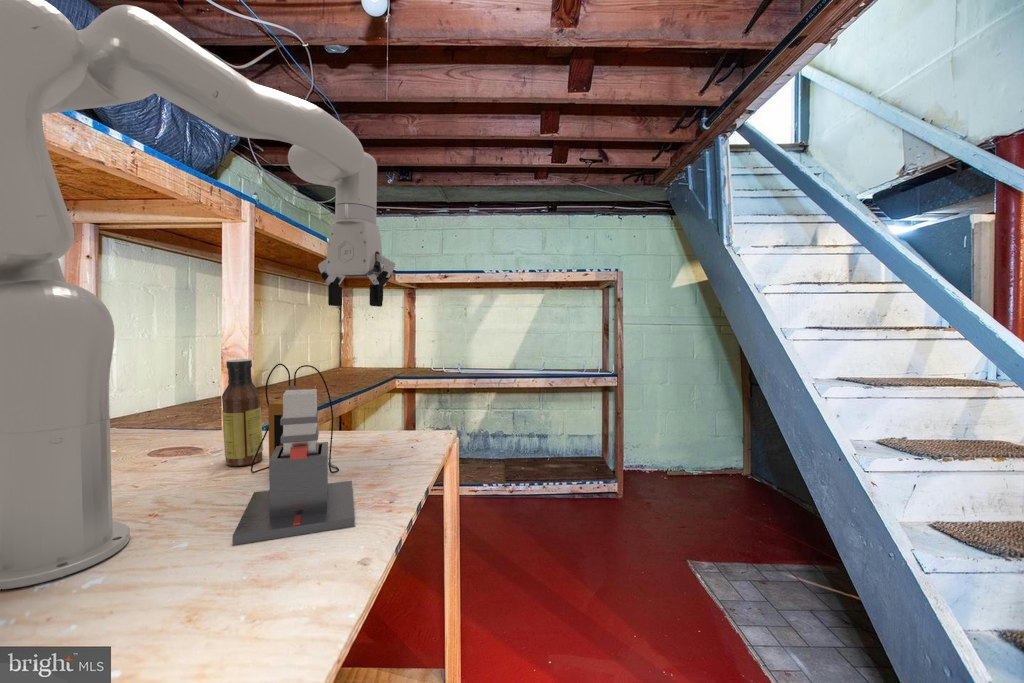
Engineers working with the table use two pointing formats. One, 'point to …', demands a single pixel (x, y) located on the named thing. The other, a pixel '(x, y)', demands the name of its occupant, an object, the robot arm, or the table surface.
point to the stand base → (296, 499)
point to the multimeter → (277, 429)
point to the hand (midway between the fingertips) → (355, 306)
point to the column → (300, 421)
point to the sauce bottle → (241, 415)
